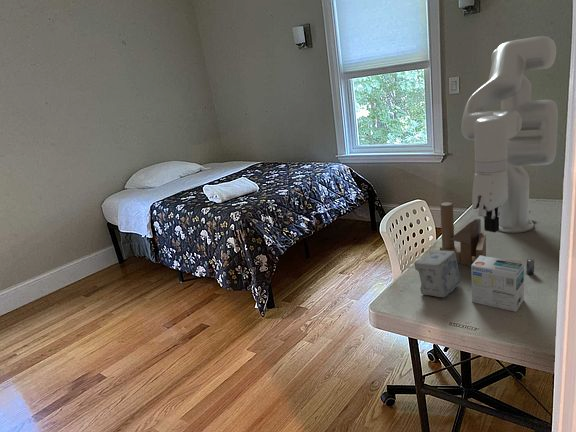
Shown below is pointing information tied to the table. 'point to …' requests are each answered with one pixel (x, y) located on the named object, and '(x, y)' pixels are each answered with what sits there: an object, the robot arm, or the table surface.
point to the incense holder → (438, 273)
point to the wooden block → (458, 236)
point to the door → (480, 247)
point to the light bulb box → (498, 282)
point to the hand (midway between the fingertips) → (491, 230)
